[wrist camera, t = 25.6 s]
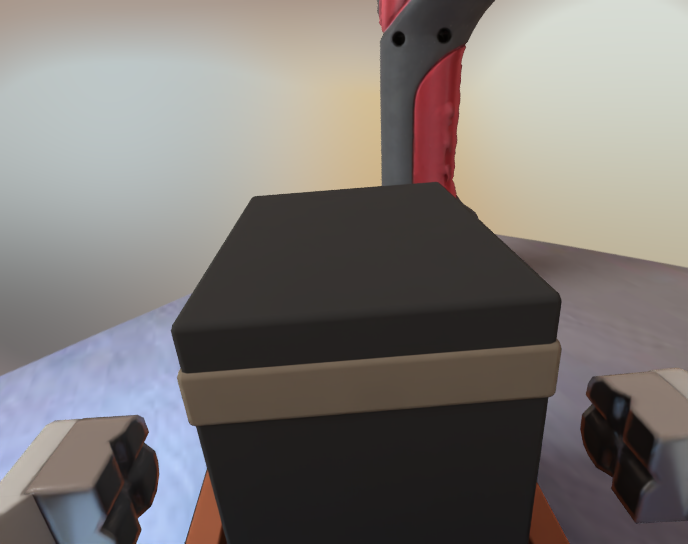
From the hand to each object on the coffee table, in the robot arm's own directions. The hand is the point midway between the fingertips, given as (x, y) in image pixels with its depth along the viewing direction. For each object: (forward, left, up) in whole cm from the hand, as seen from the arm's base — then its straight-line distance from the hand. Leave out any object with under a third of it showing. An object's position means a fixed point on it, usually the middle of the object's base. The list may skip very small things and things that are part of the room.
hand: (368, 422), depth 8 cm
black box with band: (+1, -1, -7) cm, 7 cm away
